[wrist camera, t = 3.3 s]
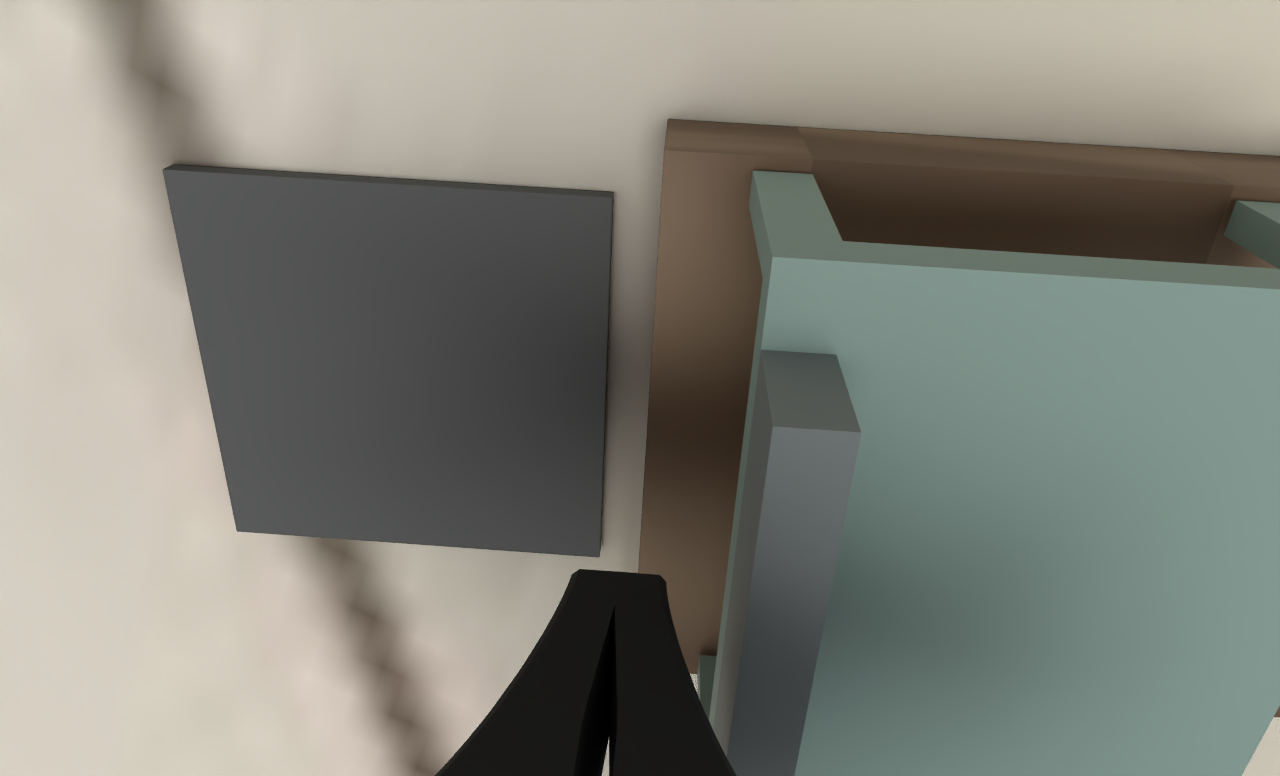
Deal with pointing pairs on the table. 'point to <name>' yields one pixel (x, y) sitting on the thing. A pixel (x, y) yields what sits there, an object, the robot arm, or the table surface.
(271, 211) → the rubber mat
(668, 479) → the brown flat rectangular frame
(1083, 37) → the table surface
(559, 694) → the robot arm
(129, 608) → the table surface
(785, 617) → the sliding cover
